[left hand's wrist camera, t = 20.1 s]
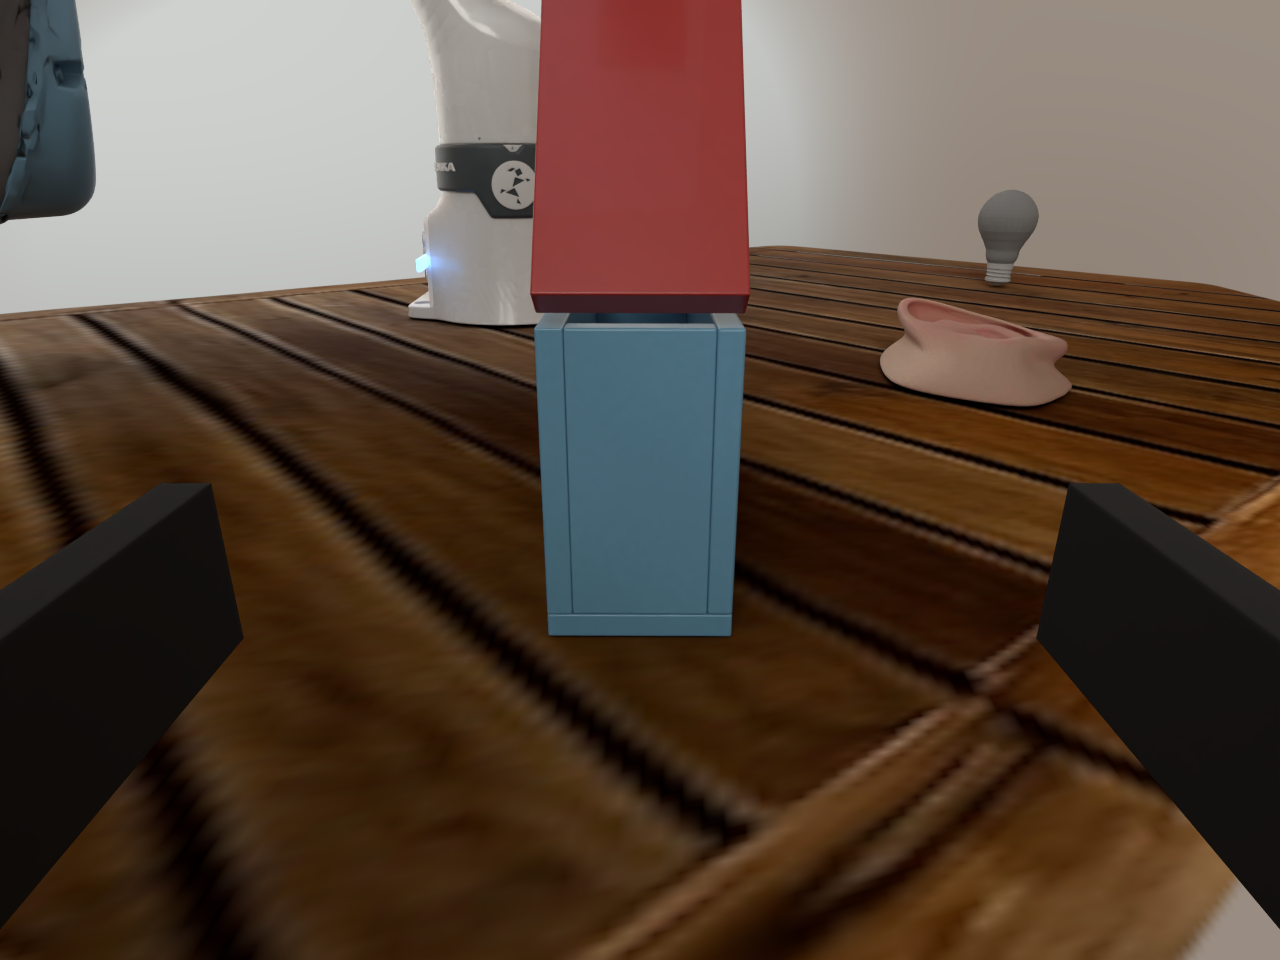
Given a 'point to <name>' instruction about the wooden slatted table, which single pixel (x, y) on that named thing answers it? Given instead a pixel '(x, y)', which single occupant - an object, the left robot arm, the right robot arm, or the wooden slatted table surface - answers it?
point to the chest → (640, 470)
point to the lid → (640, 158)
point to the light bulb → (1006, 231)
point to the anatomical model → (973, 357)
